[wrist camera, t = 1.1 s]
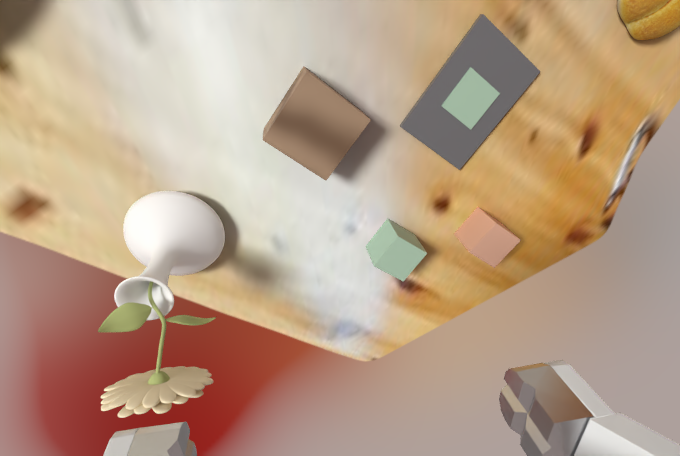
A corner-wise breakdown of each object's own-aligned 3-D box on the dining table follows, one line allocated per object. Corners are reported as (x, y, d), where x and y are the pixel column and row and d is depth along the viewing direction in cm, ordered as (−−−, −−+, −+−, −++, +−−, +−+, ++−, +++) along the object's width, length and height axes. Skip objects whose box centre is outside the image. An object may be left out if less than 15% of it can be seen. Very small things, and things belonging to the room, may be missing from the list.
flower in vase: (120, 253, 46) (-17, 453, 24) (137, 171, 42) (-12, 328, 20) (225, 278, 50) (187, 469, 28) (251, 206, 46) (228, 368, 24)
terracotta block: (477, 206, 51) (496, 223, 47) (500, 222, 53) (520, 240, 49) (453, 233, 53) (469, 252, 48) (476, 248, 54) (494, 267, 50)
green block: (387, 218, 50) (398, 236, 45) (414, 234, 52) (427, 253, 47) (365, 245, 51) (374, 266, 47) (392, 260, 53) (403, 281, 49)
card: (480, 14, 39) (484, 14, 39) (537, 71, 43) (541, 71, 42) (399, 125, 44) (401, 127, 43) (457, 168, 48) (460, 170, 47)
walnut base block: (303, 66, 39) (307, 70, 35) (361, 110, 42) (371, 120, 38) (263, 128, 42) (262, 139, 37) (321, 165, 45) (326, 180, 41)
